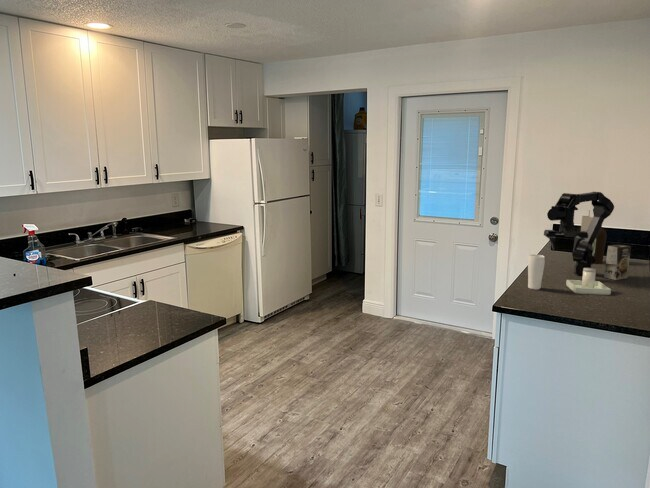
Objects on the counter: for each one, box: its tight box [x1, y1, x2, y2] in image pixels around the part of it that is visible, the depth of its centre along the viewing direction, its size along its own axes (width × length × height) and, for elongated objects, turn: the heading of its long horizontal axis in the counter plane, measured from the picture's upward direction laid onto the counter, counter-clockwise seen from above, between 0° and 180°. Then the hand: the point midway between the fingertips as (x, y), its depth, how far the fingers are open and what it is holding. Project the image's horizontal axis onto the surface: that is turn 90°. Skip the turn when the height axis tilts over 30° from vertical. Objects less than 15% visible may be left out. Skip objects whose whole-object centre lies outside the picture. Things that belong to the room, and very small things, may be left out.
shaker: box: [581, 267, 597, 288], centre depth 221 cm, size 5×5×9 cm
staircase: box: [580, 210, 603, 242], centre depth 309 cm, size 8×12×26 cm
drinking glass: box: [527, 254, 546, 291], centre depth 223 cm, size 7×7×15 cm
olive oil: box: [592, 225, 608, 265], centre depth 276 cm, size 11×11×25 cm
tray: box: [565, 279, 612, 296], centre depth 222 cm, size 14×14×2 cm
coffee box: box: [603, 244, 632, 281], centre depth 242 cm, size 9×6×16 cm
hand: (564, 251), depth 242 cm, fingers open, 9 cm apart
